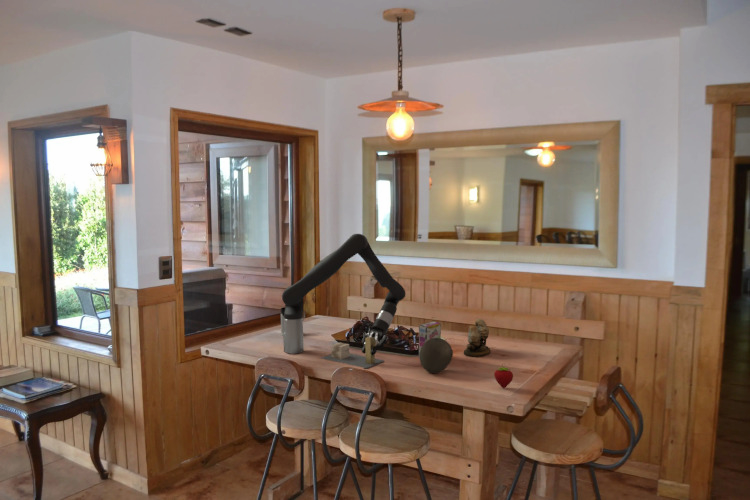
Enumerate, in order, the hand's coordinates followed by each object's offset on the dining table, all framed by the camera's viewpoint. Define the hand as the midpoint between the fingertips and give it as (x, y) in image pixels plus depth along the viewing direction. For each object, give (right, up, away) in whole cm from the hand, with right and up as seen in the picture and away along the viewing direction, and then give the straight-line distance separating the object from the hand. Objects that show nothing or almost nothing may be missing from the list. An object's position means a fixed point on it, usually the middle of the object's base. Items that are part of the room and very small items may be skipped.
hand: (367, 353), depth 259 cm
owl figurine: (+54, -3, +19) cm, 57 cm away
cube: (-13, -4, +13) cm, 19 cm away
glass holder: (-43, -1, +63) cm, 76 cm away
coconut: (+30, -6, -11) cm, 33 cm away
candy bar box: (+30, -4, +12) cm, 32 cm away
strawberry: (+55, -8, -33) cm, 65 cm away
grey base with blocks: (-8, -5, +9) cm, 12 cm away
